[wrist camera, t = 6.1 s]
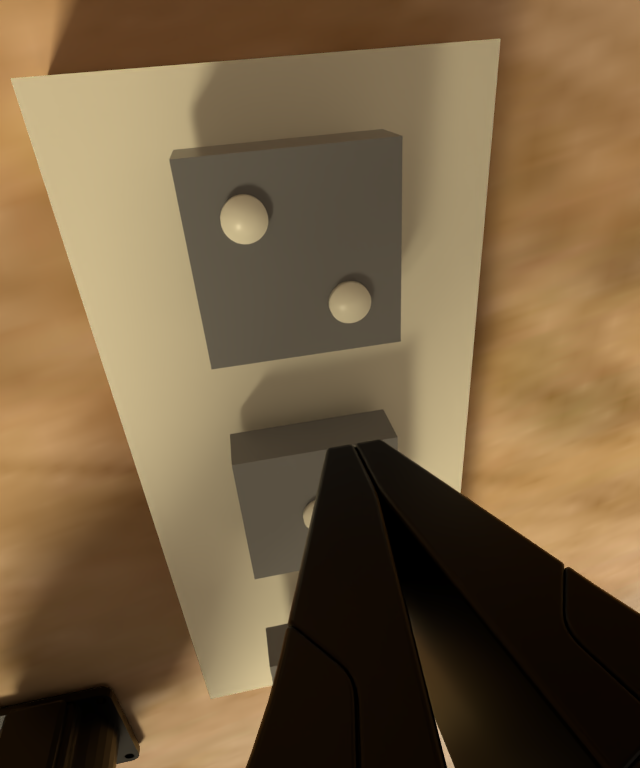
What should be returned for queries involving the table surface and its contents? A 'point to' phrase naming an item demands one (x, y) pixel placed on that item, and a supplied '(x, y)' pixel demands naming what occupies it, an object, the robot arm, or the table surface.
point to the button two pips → (294, 243)
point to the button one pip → (290, 481)
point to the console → (180, 305)
